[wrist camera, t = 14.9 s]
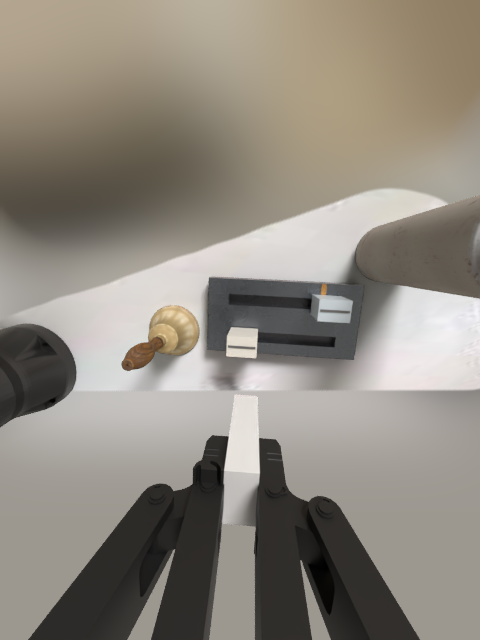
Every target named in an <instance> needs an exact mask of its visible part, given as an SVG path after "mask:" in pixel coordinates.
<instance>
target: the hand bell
mask: <svg viewBox="0 0 480 640" xmlns="http://www.w3.org/2000/svg"><path fill="white" fill-rule="evenodd" d="M198 338H199V325H198V322H197V320H196V319H195V317H194V316H193V314H192V313H191V312H189V311H188V310H187V309H185V308H183V307H180V306H166V307H163V308H161V309H159V310H158V311H157V312H156V313H155V314H154V315H153V317H152V319H151V322H150V332H149V336H148V339H149V342H148V343H140V344H138V345H136V346H134V347H132V348H131V349H130V350H129V351H128V352H127V354H126V356H125V358H124V360H123V361H122V368H123V369H124V370H127V371H130V370H133V369H139V368H142V367H144V366H146V365H147V364H148V363H149V362H150V361H151V360H152V359H153V357H154V355H155V352H156V351H157V352H159V353H167V354H171V355H181V354H185V353H187V352H189V351H190V350H191V349H193V347H194V346H195V345H196V343H197V341H198Z"/></svg>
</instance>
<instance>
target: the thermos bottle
mask: <svg viewBox="0 0 480 640" xmlns="http://www.w3.org/2000/svg"><path fill="white" fill-rule="evenodd" d="M356 263H357V266H358V268H359V270H360V272H361V273H362V274H363V275H364V276H365V277H367V278H368V279H371V280H373V281H378V282H384V283H390V284H396V285H402V286H409V287H414V288H420V289H426V290H432V291H438V292H444V293H450V294H456V295H462V296H468V297H474V298H480V195H479V196H475V197H472V198H469V199H465V200H462V201H459V202H455V203H452V204H449V205H445V206H442V207H439V208H436V209H433V210H429V211H426V212H423V213H420V214H416V215H413V216H410V217H407V218H403V219H400V220H397V221H394V222H391V223H387V224H384V225H381V226H378V227H376V228H373V229H372V230H370V231H369V232H367V233H366V234H365V235H364V236H363V238H362V239H361V240H360V242H359V244H358V246H357V250H356Z"/></svg>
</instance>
